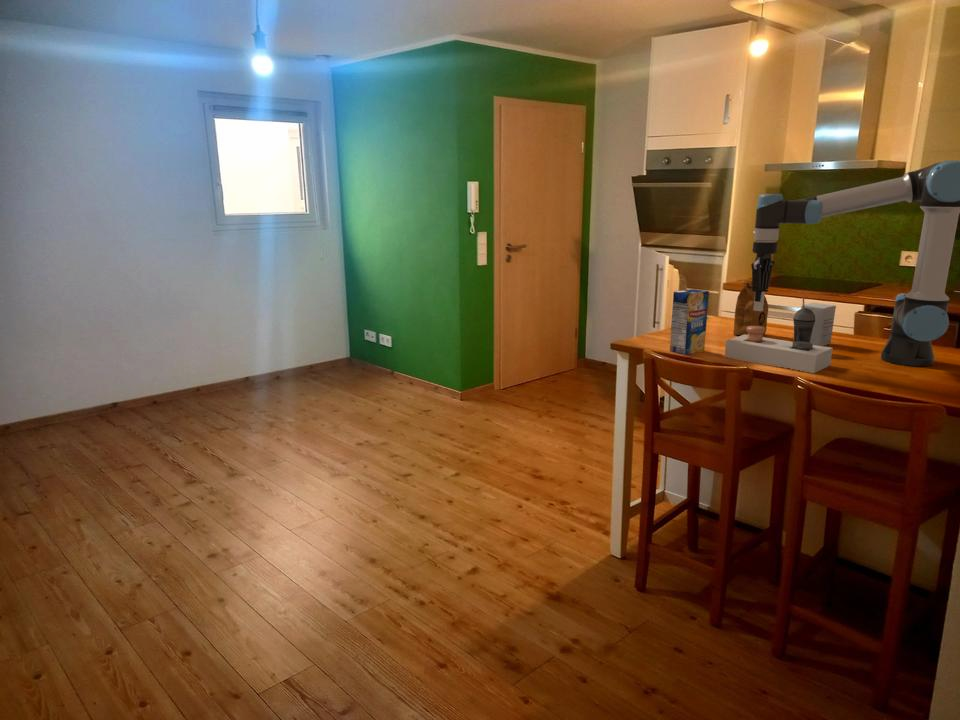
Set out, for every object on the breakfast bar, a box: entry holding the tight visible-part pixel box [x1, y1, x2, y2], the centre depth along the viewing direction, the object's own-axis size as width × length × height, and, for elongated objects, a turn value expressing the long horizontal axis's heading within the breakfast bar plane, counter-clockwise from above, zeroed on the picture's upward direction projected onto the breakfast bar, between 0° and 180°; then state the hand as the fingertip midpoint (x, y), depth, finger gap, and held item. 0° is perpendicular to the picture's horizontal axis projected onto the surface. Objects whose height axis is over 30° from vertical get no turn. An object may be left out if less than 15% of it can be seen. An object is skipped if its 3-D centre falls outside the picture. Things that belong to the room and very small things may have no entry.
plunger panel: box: [724, 334, 833, 374], centre depth 221 cm, size 30×14×6 cm, turn 43°
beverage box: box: [669, 288, 710, 356], centre depth 234 cm, size 7×11×22 cm, turn 124°
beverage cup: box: [792, 295, 816, 343], centre depth 233 cm, size 7×7×20 cm
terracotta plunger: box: [746, 326, 766, 343], centre depth 226 cm, size 6×6×6 cm
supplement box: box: [800, 302, 837, 347], centre depth 245 cm, size 9×9×15 cm
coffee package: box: [733, 281, 769, 336], centre depth 259 cm, size 10×12×22 cm
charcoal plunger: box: [792, 341, 813, 351], centre depth 215 cm, size 6×6×6 cm
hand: (758, 310), depth 223 cm, fingers closed
